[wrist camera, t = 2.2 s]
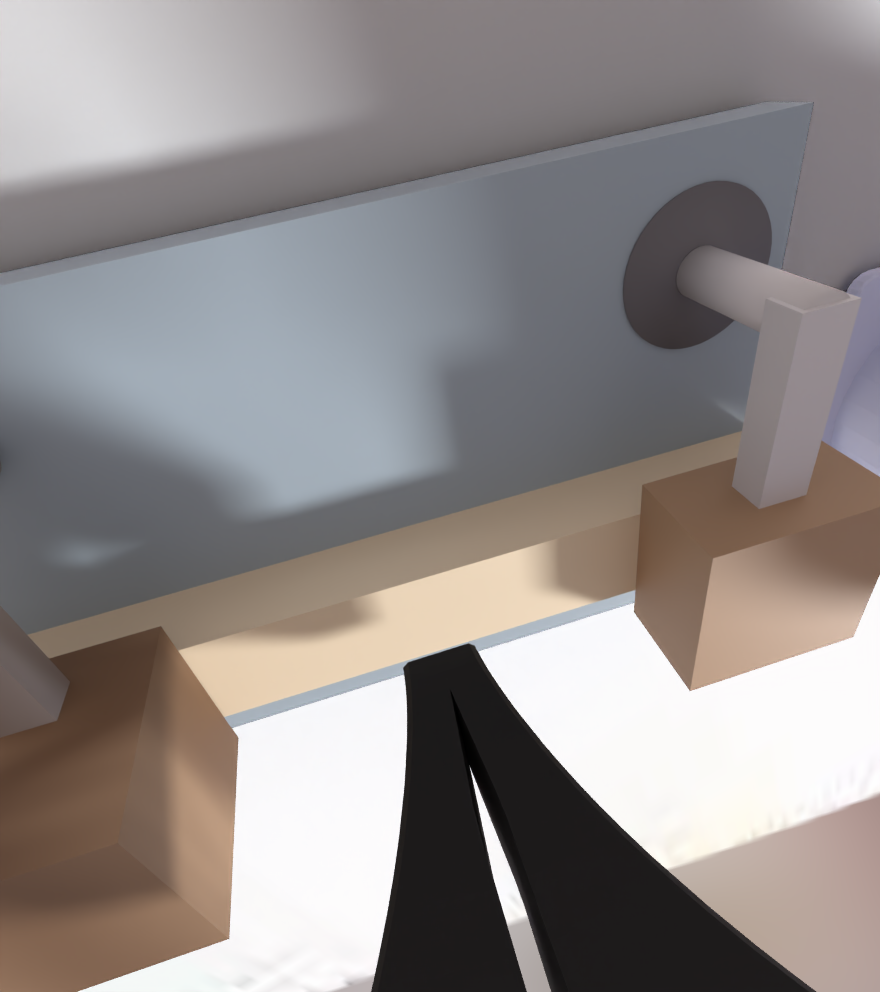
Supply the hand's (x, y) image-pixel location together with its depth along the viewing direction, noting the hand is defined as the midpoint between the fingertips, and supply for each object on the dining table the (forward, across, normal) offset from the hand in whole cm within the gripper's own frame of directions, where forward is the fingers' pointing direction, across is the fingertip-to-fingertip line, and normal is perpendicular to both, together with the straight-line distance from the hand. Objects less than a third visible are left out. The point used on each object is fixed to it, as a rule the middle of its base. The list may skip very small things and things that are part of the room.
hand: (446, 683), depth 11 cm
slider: (+3, +7, -2) cm, 8 cm away
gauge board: (+5, +3, -2) cm, 6 cm away
